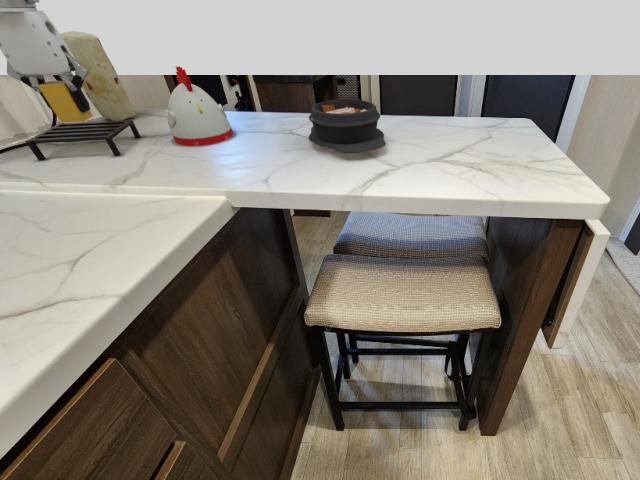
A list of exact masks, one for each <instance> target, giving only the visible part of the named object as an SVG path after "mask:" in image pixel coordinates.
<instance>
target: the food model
mask: <svg viewBox="0 0 640 480" xmlns="http://www.w3.org/2000/svg"><path fill="white" fill-rule="evenodd" d="M60 35H61V36H62V38H63V39H64V41H65V42H66V44H67V46H68V47H69V49H70V50H71V52H72V54H73V55H74V57H75V59H76V60H77V61H78V62H80V63H81V64H82V65H83V66H85V67H86V68H87V69H88V70H89V74H88V75H87V76H86V78H85V79H84V82H83V85H82V89H83V91H84V92H85V94H86V96H87V98H88V99H89V101H90V102H91V104H92V105H93V107H94V108H95V109H96V110H97V112H98V113H99V114H100V116H101V117H102V118H103V119H105V120H110V121H126V120H127V119H130V118H134V117H135V115H136V112H135V110H134V107H133V105H132V104H131V101H130V99H129V96H128V94H127V92H126V90H125V87H124V86H123V84H122V82H121V80H120V78H119V75H118V73H117V71H116V69H115V67H114V64H113V63H112V61H111V60H110V58H109V56H108V54H107V53H106V50H105V49H104V46H103V45H102V42H101V39H100V38H99V37H98V36H97V35H94V34H92V33H87V32H83V31H77V30H76V31H75V30H74V31H73V30H72V31H65V32H62V33H60ZM76 73H77V70H76V71H75V72H74V71H73V74H74V75H76Z"/></svg>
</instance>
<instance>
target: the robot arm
mask: <svg viewBox="0 0 640 480" xmlns="http://www.w3.org/2000/svg"><path fill="white" fill-rule="evenodd" d="M36 3H38V4H39V3H40V0H0V51H1V52H2V55H3V56H4V58H5V59H6V74H7V75H8V76H9V77H11V78H14V79H16V80H18V81H20V82H22V83H23V84H25V85H27V86H28V87H30V88H31V89H33V91H34V92H35V93H39V95H40V96H41V98H42V99H43V101H44V102H45V104H46V106H47V107H48V108H49V109H50V111H51V112H52V113H53V114H54V115H56V114H55V112H54V110H53V109H52V107H51V106H50V104H49V103H48V101H47V99H46V98H45V96H44V95H43V93H42V92H41V90H40V89H39V87H38V85H40V84H43V83H46V82H47V81H46V79H45V76H58V77H59V78H60V79H61V81H64V82H65V84H66V85H67V86H68V87H69V88H70V90H71V91H70V95H71V97H72V98H73V100H74V102H75V103H76V105H77V107H78V108H79V110H80V111H81V112H86V111H88V110H90V111H91V107H90V103H89V101H88V99H87V97H86V96H85V94H84V92H83V90H82V89H83V87H82V85H83V82H84V79H85V78H86V76H87V75H88V74H89V70H88V69H87V68H86V67H85V66H83V65H82V64H81V63H80V62H78V61H77V60H76V59H75V57H74V55H73V54H72V52H71V50H70V49H69V47H68V46H67V44H66V42H65V41H64V39H63V38H62V36H61V35H60V34H61V33H60V32H59V30H58V29H57V27H56V26H55V25H54V23H53V22H52V20H51V19H50V18H49V17H48V14H46V12H44V10H38V9H37V5H36ZM76 70H77V73H76V74H74V73H73V72H74V71H76Z"/></svg>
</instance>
